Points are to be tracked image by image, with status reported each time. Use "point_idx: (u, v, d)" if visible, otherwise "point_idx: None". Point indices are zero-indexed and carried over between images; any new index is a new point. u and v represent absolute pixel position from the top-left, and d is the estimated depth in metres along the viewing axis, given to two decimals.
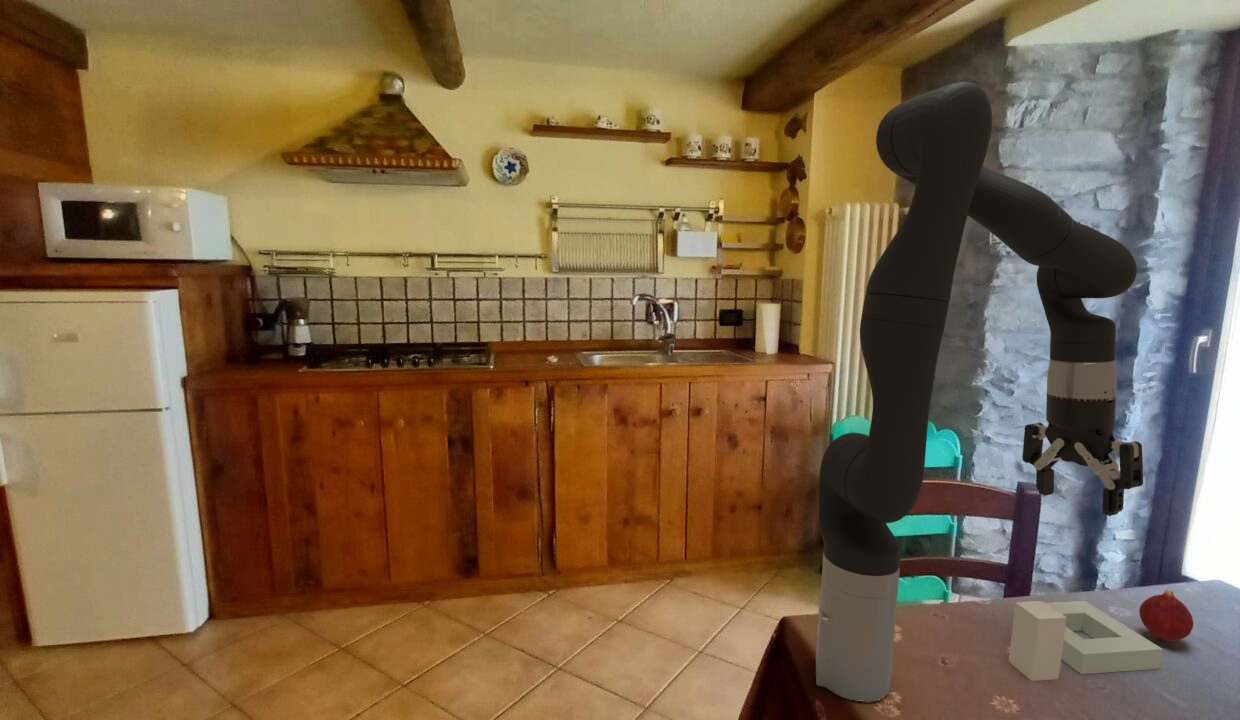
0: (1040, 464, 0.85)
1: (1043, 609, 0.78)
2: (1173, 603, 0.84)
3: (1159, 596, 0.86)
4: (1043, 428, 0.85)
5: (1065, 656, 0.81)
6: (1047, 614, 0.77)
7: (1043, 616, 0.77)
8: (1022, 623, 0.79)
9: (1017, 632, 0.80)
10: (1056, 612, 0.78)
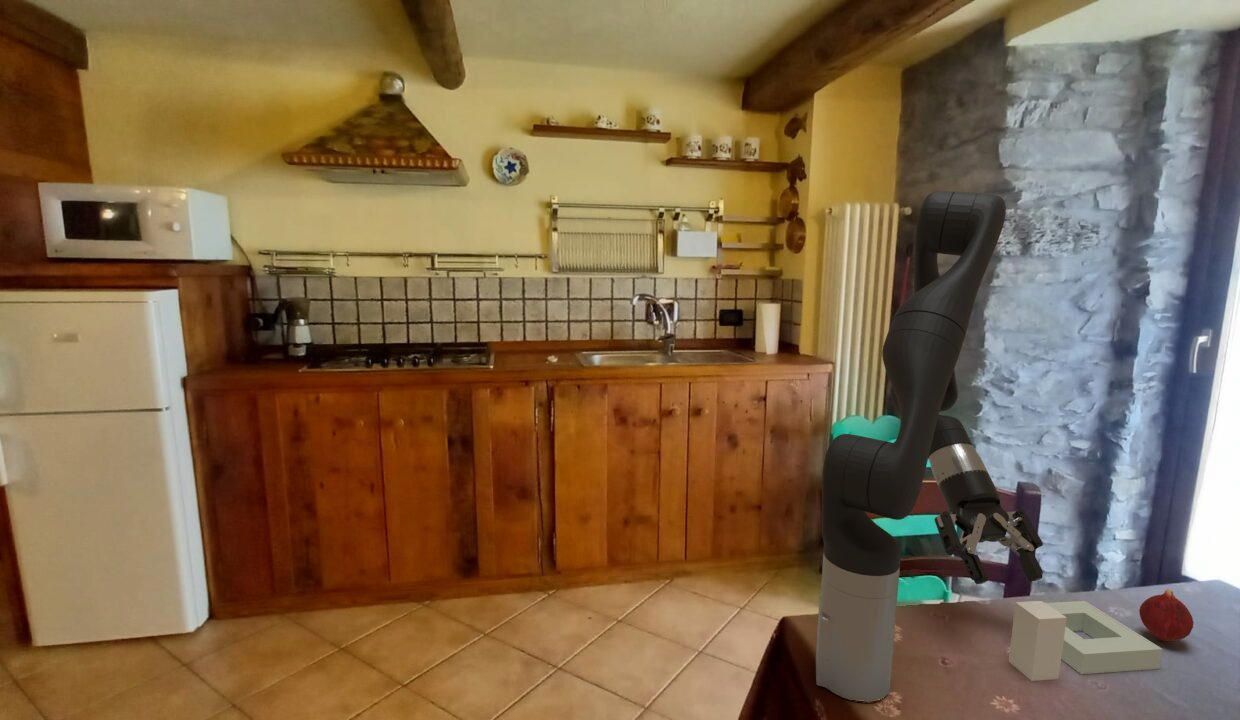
0: (972, 547, 0.85)
1: (1043, 609, 0.78)
2: (1173, 603, 0.84)
3: (1159, 596, 0.86)
4: (952, 515, 0.89)
5: (1065, 656, 0.81)
6: (1047, 614, 0.77)
7: (1043, 616, 0.77)
8: (1022, 623, 0.79)
9: (1017, 632, 0.80)
10: (1056, 612, 0.78)
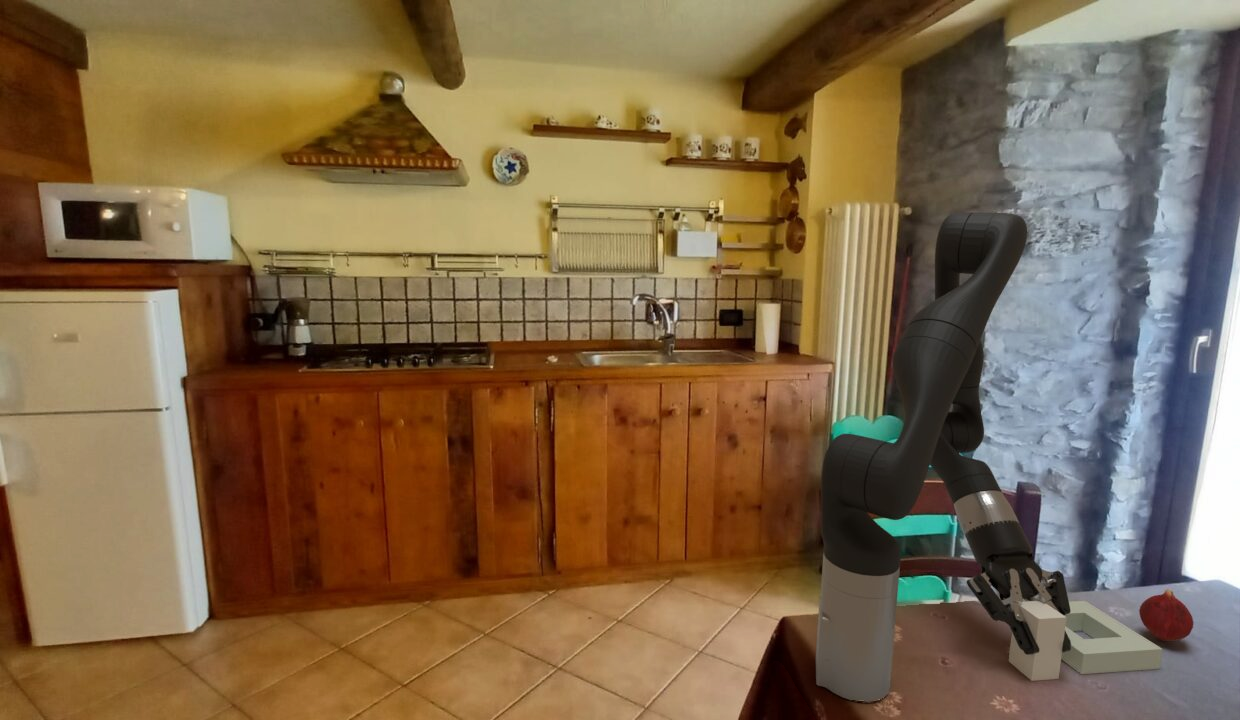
0: (1020, 613, 0.79)
1: (1043, 609, 0.78)
2: (1173, 603, 0.84)
3: (1159, 596, 0.86)
4: (983, 574, 0.82)
5: (1065, 656, 0.81)
6: (1047, 614, 0.77)
7: (1043, 616, 0.77)
8: None
9: None
10: (1056, 611, 0.78)
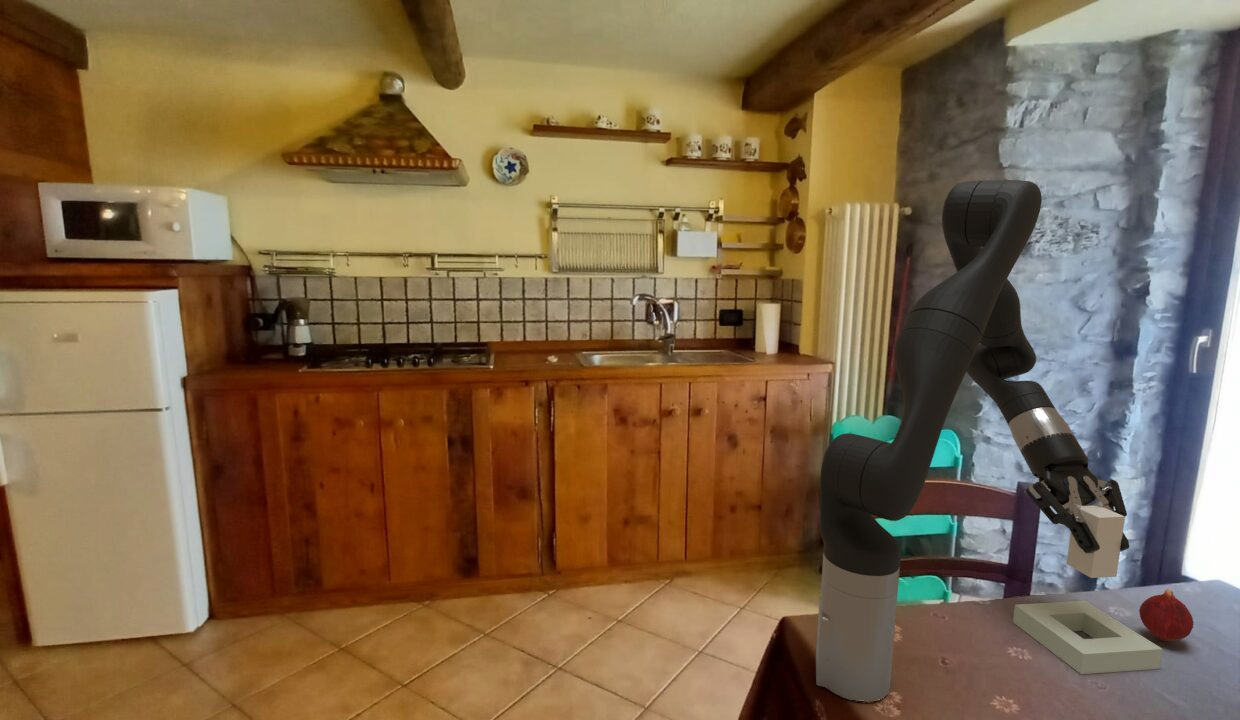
0: (1080, 515, 0.83)
1: (1101, 511, 0.83)
2: (1173, 603, 0.84)
3: (1159, 596, 0.86)
4: (1042, 482, 0.86)
5: (1065, 656, 0.81)
6: (1106, 514, 0.81)
7: (1102, 515, 0.81)
8: None
9: None
10: (1114, 513, 0.82)
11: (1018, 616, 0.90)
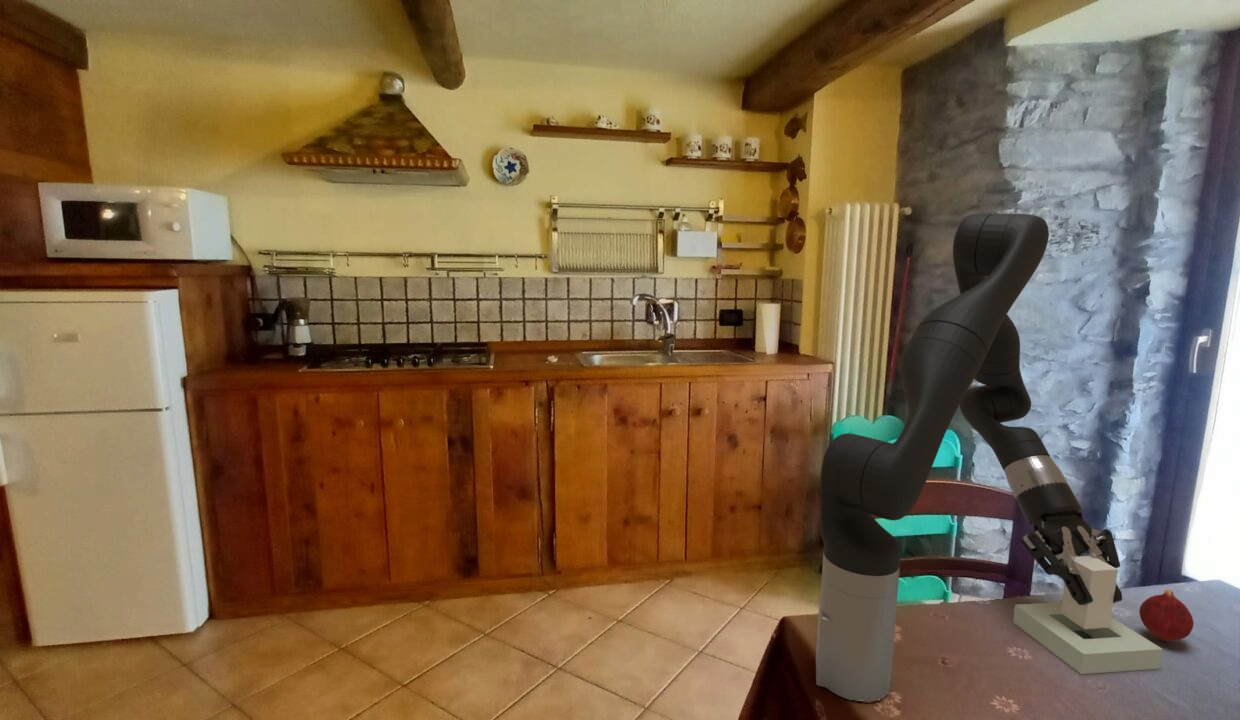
0: (1073, 567, 0.84)
1: (1094, 562, 0.84)
2: (1173, 603, 0.84)
3: (1159, 596, 0.86)
4: (1036, 532, 0.88)
5: (1065, 656, 0.81)
6: (1099, 567, 0.82)
7: (1095, 568, 0.82)
8: None
9: None
10: (1107, 565, 0.83)
11: (1018, 616, 0.90)
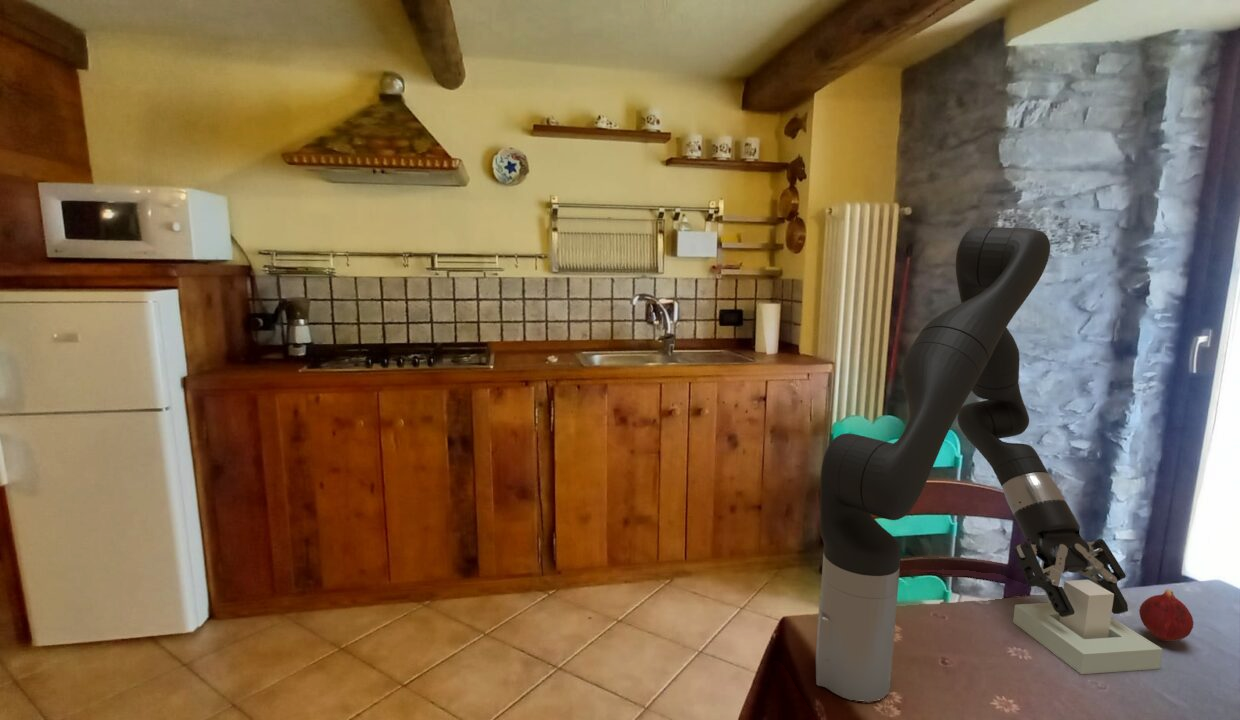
0: (1055, 579, 0.85)
1: (1091, 586, 0.84)
2: (1173, 603, 0.84)
3: (1159, 596, 0.86)
4: (1032, 545, 0.88)
5: (1065, 656, 0.81)
6: (1096, 591, 0.83)
7: (1092, 592, 0.83)
8: (1071, 600, 0.85)
9: None
10: (1103, 589, 0.84)
11: (1018, 616, 0.90)
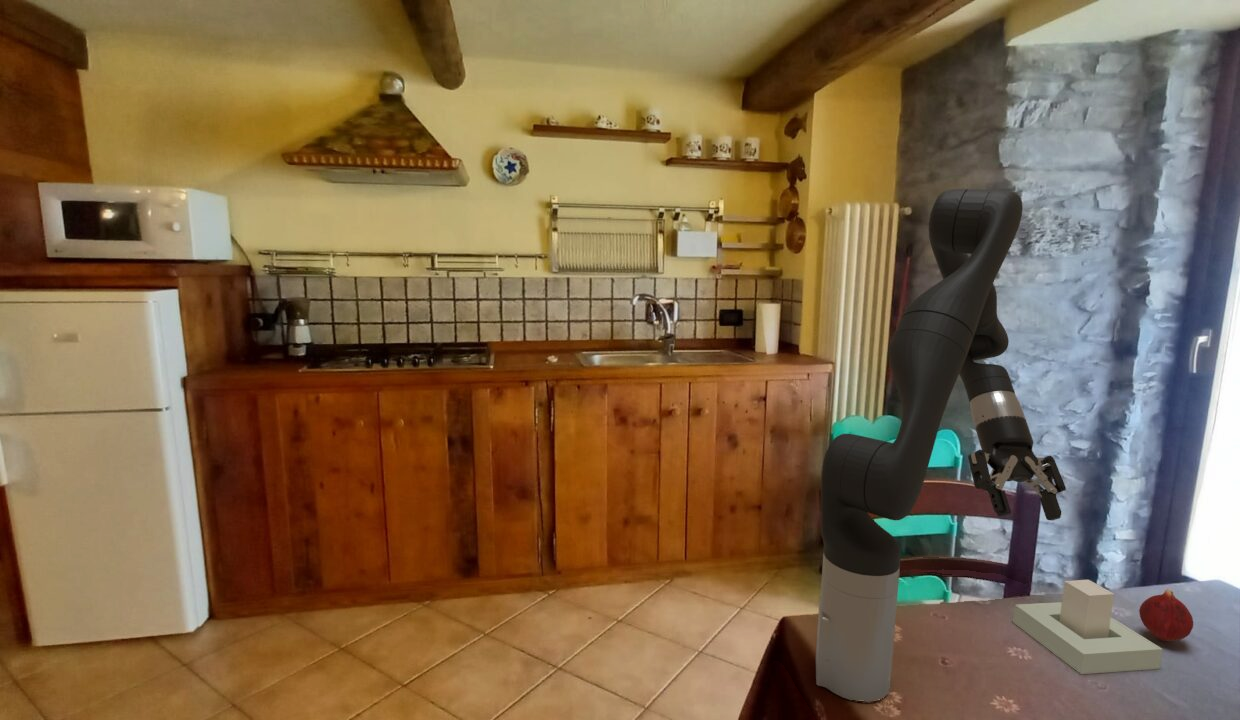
0: (1000, 483, 0.92)
1: (1091, 586, 0.84)
2: (1173, 603, 0.84)
3: (1159, 596, 0.86)
4: (986, 454, 0.95)
5: (1065, 656, 0.81)
6: (1096, 591, 0.83)
7: (1092, 593, 0.83)
8: (1072, 600, 0.85)
9: (1067, 609, 0.85)
10: (1104, 589, 0.84)
11: (1018, 616, 0.90)
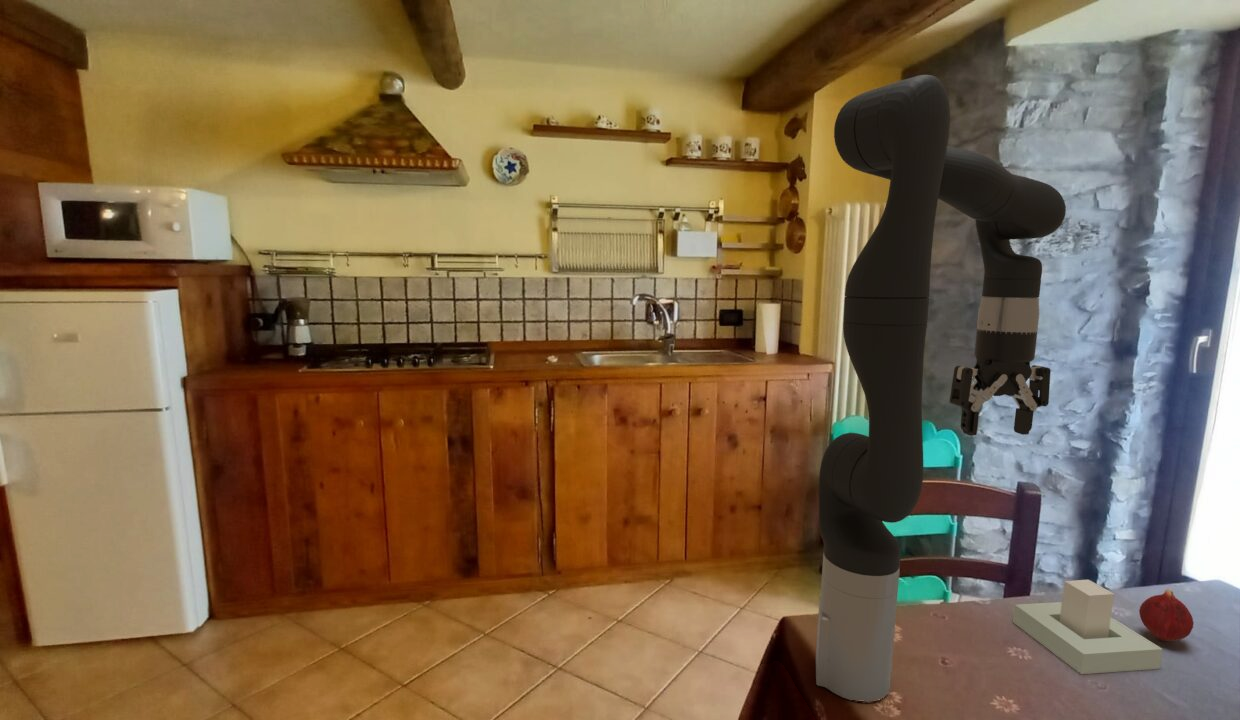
0: (977, 405, 0.85)
1: (1091, 586, 0.84)
2: (1173, 603, 0.84)
3: (1159, 596, 0.86)
4: (975, 369, 0.85)
5: (1065, 656, 0.81)
6: (1096, 591, 0.83)
7: (1092, 593, 0.83)
8: (1072, 600, 0.85)
9: (1067, 609, 0.85)
10: (1104, 589, 0.84)
11: (1018, 616, 0.90)
